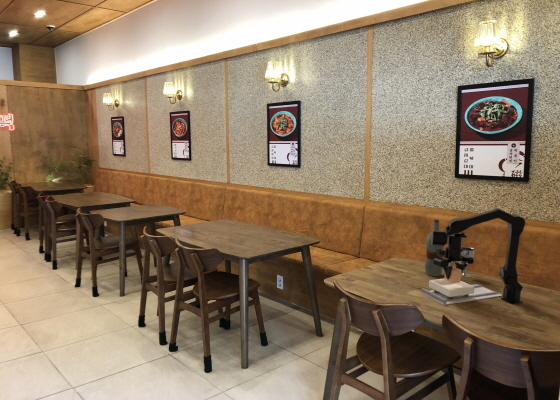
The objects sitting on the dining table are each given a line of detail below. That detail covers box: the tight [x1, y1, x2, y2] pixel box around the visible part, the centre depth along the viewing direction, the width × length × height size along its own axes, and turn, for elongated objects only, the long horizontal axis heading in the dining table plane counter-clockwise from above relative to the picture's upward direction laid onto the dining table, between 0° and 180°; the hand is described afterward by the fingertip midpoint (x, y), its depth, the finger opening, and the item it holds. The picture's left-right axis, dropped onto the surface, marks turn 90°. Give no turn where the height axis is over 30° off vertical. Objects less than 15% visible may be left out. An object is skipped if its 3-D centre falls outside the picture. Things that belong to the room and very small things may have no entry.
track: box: [420, 284, 503, 306], centre depth 209 cm, size 16×34×2 cm, turn 110°
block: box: [443, 266, 462, 283], centre depth 205 cm, size 5×5×6 cm
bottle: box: [424, 218, 445, 277], centre depth 237 cm, size 9×9×30 cm
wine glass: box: [461, 246, 475, 278], centre depth 236 cm, size 8×8×15 cm
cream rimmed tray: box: [428, 278, 474, 299], centre depth 206 cm, size 14×14×5 cm
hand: (452, 278), depth 205 cm, fingers closed on block, 5 cm apart
